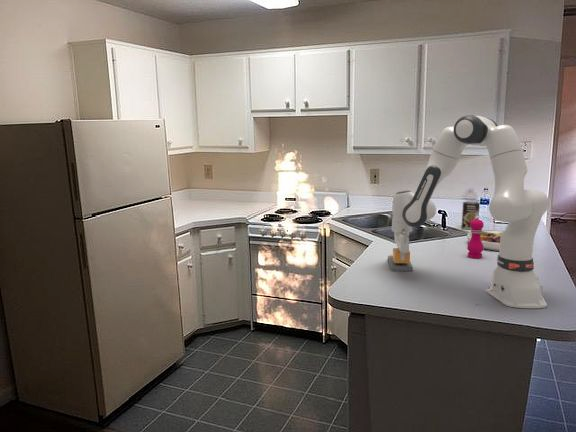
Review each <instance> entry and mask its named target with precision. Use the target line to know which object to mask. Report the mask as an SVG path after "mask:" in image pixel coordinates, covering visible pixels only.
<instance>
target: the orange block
mask: <svg viewBox="0 0 576 432" xmlns="http://www.w3.org/2000/svg"><path fill="white" fill-rule="evenodd" d="M392 255H393V261H394V263H410V262H411V251H410V250H409V252H408V253H406V254H405V260H401V259H400V256H401V253H400V251H399V249H398V247H393V248H392Z"/></svg>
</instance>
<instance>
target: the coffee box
mask: <svg viewBox="0 0 576 432" xmlns="http://www.w3.org/2000/svg"><path fill="white" fill-rule="evenodd" d="M480 205H481V204H480V202H476V201H475V202H471V201H470V202H468V201H466V202H465V201H463V202H462V211H461V212H462V214H461V226H460V227H461V230H462V229H467V231H471V229H472V228H471V227H470V222H471V221H472V220H474V219H475V217H476V216H479V215H480ZM479 217H480V216H479Z"/></svg>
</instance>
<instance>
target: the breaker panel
mask: <svg viewBox="0 0 576 432" xmlns="http://www.w3.org/2000/svg"><path fill="white" fill-rule="evenodd" d="M387 261H388V262H387V263H388V264H389V268H390V270H391V271H392V272H413V270H414V269H413V268H414V266H413V264H412V263H411V261H410V263H405V264H398V263H394V261H393V254H390V255H387Z"/></svg>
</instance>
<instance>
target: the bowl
mask: <svg viewBox="0 0 576 432" xmlns="http://www.w3.org/2000/svg"><path fill="white" fill-rule="evenodd" d="M503 231H504V230H496V229H482V233H481V241H482V244H483V250H487V251H496V252H499V250H500V237H501V234H502V232H503ZM471 237H472V232H471V231H470V232H468V233H467V240H468V243H469V242H470V240H471Z"/></svg>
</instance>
